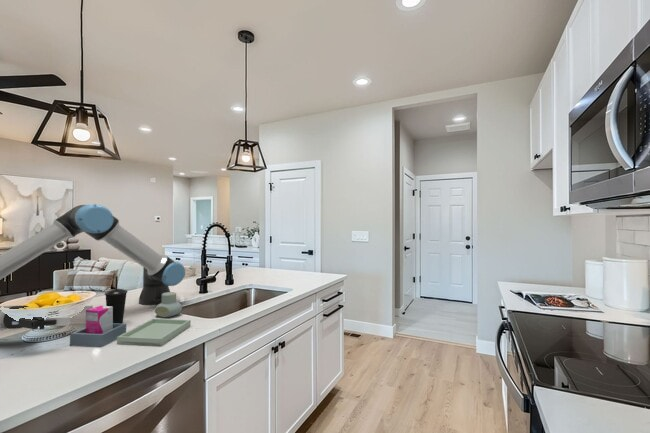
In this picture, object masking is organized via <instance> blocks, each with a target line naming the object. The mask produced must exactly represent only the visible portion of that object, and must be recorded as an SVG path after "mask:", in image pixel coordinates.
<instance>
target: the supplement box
mask: <svg viewBox="0 0 650 433" xmlns="http://www.w3.org/2000/svg"><path fill="white" fill-rule="evenodd" d="M85 327H86V333H91V334H103V333H105V332H107V331H109V330H111V329H113V306H106V305H97V306H95V307H92V308H91V309H88V310H86V313H85Z"/></svg>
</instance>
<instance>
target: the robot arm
mask: <svg viewBox="0 0 650 433" xmlns="http://www.w3.org/2000/svg"><path fill="white" fill-rule="evenodd" d="M81 233H85V234H87V235H88V236H90V237H91V238H93V239H94V240H95V241H97V242H98V241H104V242H105V243H107V244H109V245H110V246H111V247H113V248H114V249H116V250H117V251H119V252H120V253H122V254H123V255H125V256H126V257H128V258H129V259H131V260H132V261H134V262H135V263H137V264H138V265H139V266H141V267H142V268H143V271H142V272H143V273H142V274H143V276H142V278H143V279H142V282H143V283H142V289H141V292H140V295H139V297H138V304H140V305H144V306H145V305H146V306H147V305H151V306H152V305H159V304H160V303H161V301H162V294H163V293H166V292H171V290H170V287H174V286H177V285H179V284H180V283H181V282H182V281H183V280H184V278H185V275H186V269H185V267H184V265H183V264H182V263H180V262H179V261H178V262H177V261H175V260H173V259H172V258H171V257H169V256H168V255H166V254H162V255H161V254H160V253H158V252H156V250H154V249H153V248H151V247H150V246H149V245H147V244H146V243H144V242H143V241H142V240H140V239H139V238H138V237H136V236H135V235H133V233H131V232H129V230H127V229H125V228H124V227H122V226H121V225H120V220H119V219H118V218H117V217H115V216H114V214H113V213H112V211H111V210H110V209H109V208H107V207H106V206H104V205H101V204H96V203H89V204H80V205H77V206H74V207H73V208H70V210H68V211H66V212H65V213H64V214H62V215H61V216H59V217H58V218H56V219H54V220H53V222H52V224H51V225H49V226H47V227H45V228H43V229H42V230H40V231H39V232H37V233H35V234H33V235H32V236H30V237H29V238H27V239H25V240H24V241H22V242H20V243H18V244H17V245H15V246H14V247H11V248H10V249H8V250H6V251H4V252H3V253H2V254H0V280H2V279H3V278H6V277H7V276H9V275H10V274H12V273H14V272H15V271H17V270H18V269H20V268H21V267H23V266H25V265H26V264H28V263H30V262H31V261H32V260H34V259H36V258H38V257H39V256H41V255H42V254H44V253H45V252H47V251H48V250H50V249H52V248H54V247H55V246H57V245H58V244H59V243H61V242H63V241H65V240H66V239H73V238H74V237H75V236H77V235H80V234H81ZM2 306H3V307H4V308H9V309H19V308H24V307H29V306H28V305H0V308H1V307H2ZM84 306H85V305H84ZM91 308H93V305H92V304H91V305H86V306H85V307H84V309H83V310H82V311H81V312H79V313H78V314H86V310H88V309H91ZM70 321H71V320H70V316H51V317H47V318H46V319H44V318H42V317H33V319H32V320H31V319H25V318H20V319H19V321H16V320H14V319H13V318H11V317H9V316H8V315H7V314H5V313H3V312H1V311H0V331H3V330H6V329H9V330H10V329H11V330H13V329H15V330H16V329H17V330H18V329H22V328H24V329H31V330H38V329H39V330H44V329H45V327H58V326H59V327H63V326H69V325H70V324H71V323H70Z"/></svg>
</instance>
